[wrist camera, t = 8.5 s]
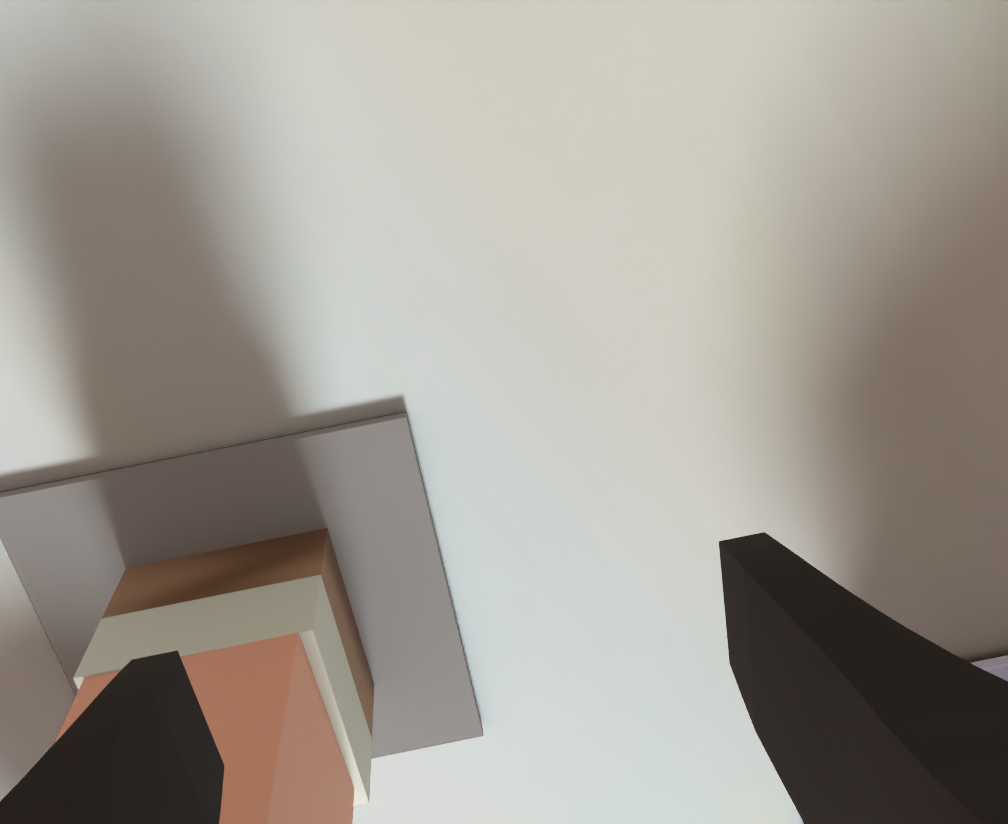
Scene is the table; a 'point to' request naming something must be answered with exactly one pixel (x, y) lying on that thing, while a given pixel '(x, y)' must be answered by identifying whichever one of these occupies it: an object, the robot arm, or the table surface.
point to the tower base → (246, 572)
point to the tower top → (243, 623)
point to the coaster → (258, 517)
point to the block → (263, 733)
